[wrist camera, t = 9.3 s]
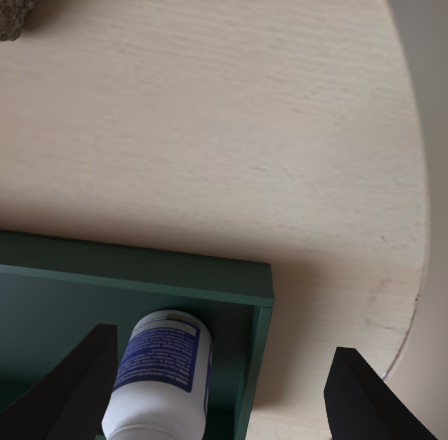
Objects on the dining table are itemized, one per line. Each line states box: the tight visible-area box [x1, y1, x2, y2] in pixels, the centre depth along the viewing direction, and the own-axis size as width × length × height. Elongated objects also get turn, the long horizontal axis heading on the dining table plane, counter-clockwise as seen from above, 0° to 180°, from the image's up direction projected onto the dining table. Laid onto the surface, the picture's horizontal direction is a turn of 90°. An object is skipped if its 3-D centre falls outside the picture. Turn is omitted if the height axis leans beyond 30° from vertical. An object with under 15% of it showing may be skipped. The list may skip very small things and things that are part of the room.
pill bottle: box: [102, 310, 213, 440], centre depth 21 cm, size 5×5×9 cm
